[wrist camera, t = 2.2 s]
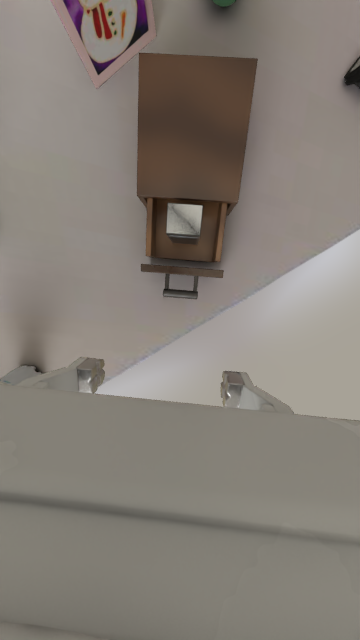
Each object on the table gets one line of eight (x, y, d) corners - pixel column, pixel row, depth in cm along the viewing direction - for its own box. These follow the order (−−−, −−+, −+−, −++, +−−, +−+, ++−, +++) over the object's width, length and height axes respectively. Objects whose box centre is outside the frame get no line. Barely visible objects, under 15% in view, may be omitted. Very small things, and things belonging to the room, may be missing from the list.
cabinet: (228, 215, 34) (238, 202, 27) (147, 209, 35) (136, 195, 28) (242, 105, 30) (257, 58, 23) (150, 100, 31) (138, 52, 24)
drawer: (215, 298, 37) (219, 302, 32) (146, 292, 38) (140, 296, 33) (228, 188, 32) (236, 174, 27) (150, 183, 33) (143, 168, 28)
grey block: (197, 245, 34) (200, 236, 25) (172, 243, 34) (165, 234, 25) (199, 221, 33) (203, 204, 24) (173, 220, 33) (167, 201, 24)
